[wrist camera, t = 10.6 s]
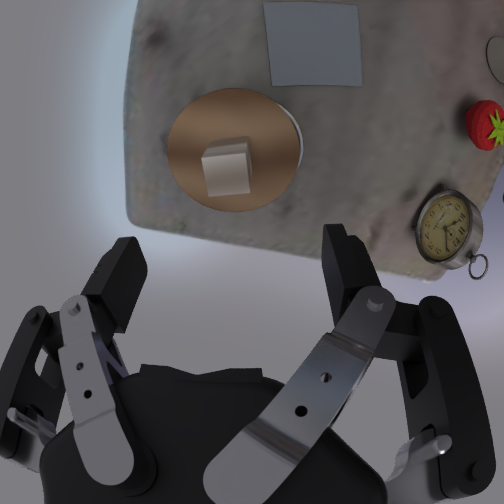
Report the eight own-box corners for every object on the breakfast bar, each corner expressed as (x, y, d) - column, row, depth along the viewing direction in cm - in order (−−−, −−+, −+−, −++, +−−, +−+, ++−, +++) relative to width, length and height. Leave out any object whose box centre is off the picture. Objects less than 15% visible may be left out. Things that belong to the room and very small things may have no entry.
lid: (159, 100, 22) (133, 112, 17) (294, 83, 21) (304, 89, 16) (184, 212, 29) (169, 246, 25) (300, 203, 28) (308, 237, 24)
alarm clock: (438, 173, 35) (501, 235, 22) (458, 188, 36) (517, 250, 23) (402, 228, 41) (446, 302, 28) (423, 239, 42) (466, 310, 30)
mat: (262, 3, 23) (262, 2, 23) (355, 6, 22) (356, 5, 22) (271, 85, 30) (272, 86, 29) (360, 86, 29) (362, 86, 28)
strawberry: (443, 125, 30) (485, 149, 22) (461, 84, 26) (507, 99, 18) (467, 144, 31) (508, 171, 23) (485, 105, 27) (528, 126, 19)
